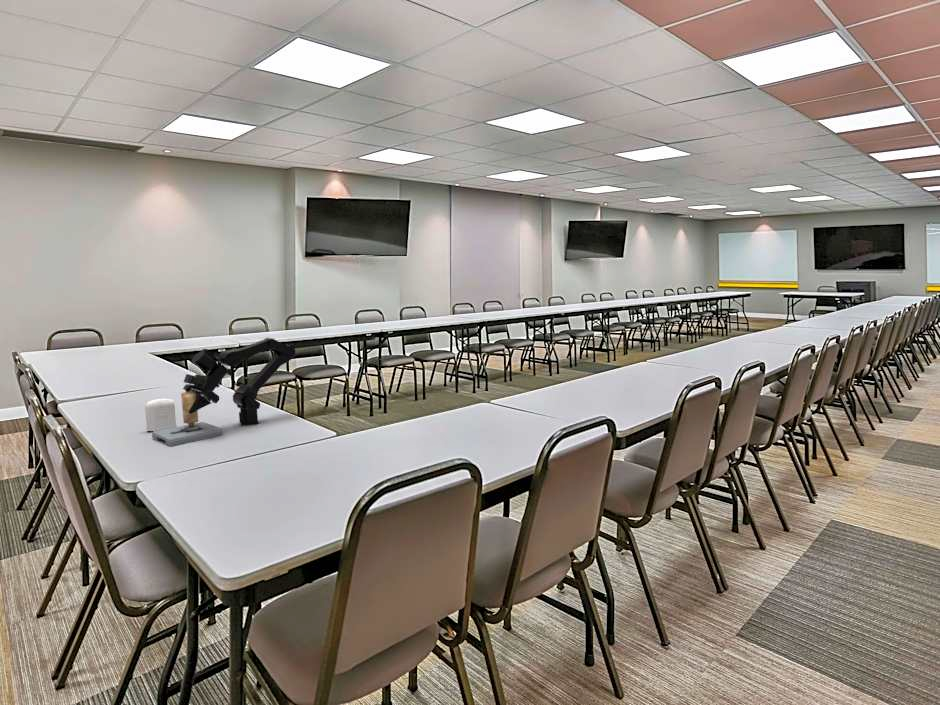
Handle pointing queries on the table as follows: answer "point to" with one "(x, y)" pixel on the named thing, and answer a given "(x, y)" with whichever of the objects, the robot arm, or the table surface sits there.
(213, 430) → the keyhole plate
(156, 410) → the photo printer
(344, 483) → the table surface
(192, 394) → the ribbed peg
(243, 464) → the table surface
